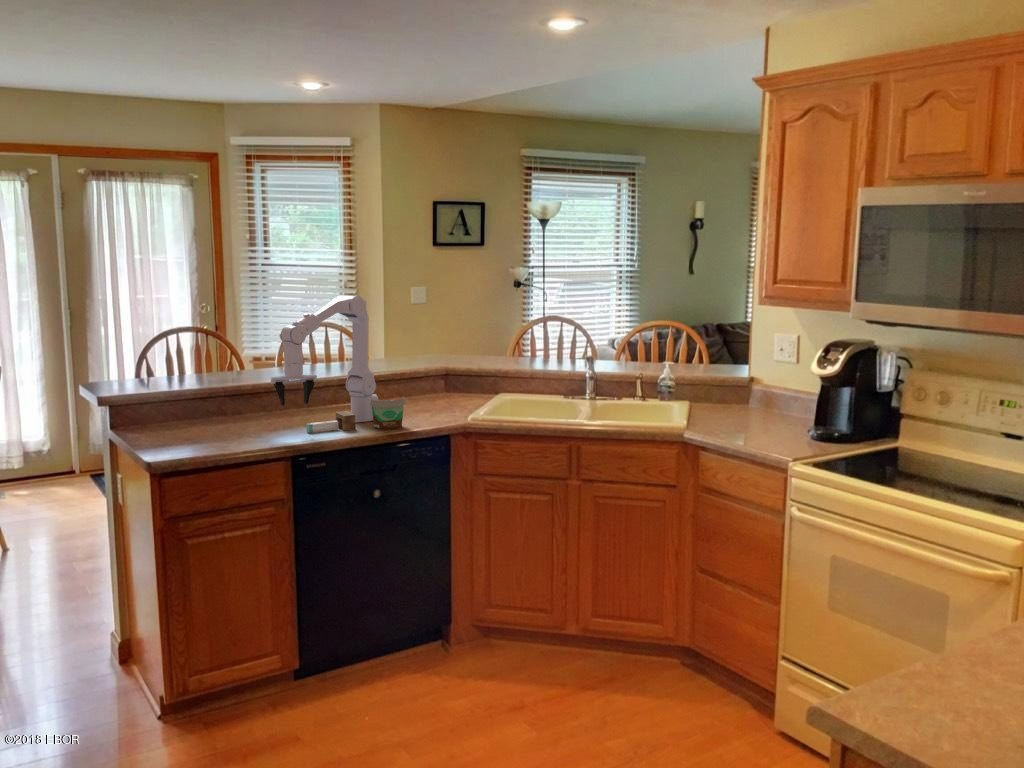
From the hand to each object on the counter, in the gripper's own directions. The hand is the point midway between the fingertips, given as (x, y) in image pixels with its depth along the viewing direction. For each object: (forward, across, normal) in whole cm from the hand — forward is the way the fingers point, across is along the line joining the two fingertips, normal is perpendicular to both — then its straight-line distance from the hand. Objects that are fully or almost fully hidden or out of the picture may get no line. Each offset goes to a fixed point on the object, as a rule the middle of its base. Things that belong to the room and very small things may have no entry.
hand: (294, 404), depth 282 cm
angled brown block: (+9, +17, 0) cm, 20 cm away
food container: (+10, +30, -9) cm, 32 cm away
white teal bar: (+10, +9, 0) cm, 13 cm away
